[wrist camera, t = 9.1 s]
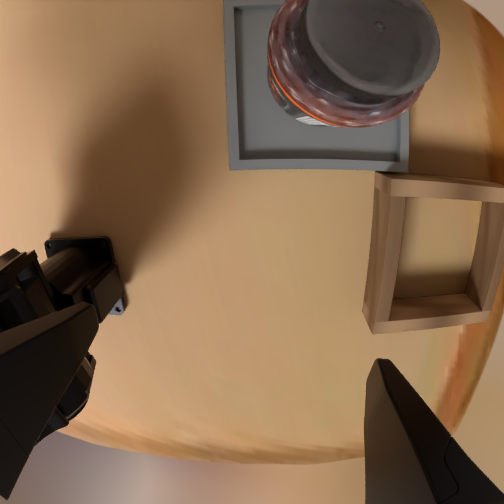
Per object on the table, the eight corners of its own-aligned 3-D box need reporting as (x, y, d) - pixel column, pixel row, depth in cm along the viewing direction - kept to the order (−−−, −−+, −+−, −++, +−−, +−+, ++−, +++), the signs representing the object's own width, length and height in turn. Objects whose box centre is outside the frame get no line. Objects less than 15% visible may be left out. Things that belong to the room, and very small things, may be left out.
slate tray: (232, 167, 20) (229, 170, 18) (226, 7, 16) (223, -1, 14) (399, 169, 19) (408, 172, 18) (392, 15, 15) (400, 8, 14)
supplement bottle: (261, 38, 16) (253, -59, 5) (358, 35, 15) (445, -40, 5) (272, 130, 18) (281, 133, 8) (369, 126, 18) (478, 133, 7)
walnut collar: (362, 311, 23) (372, 334, 20) (375, 171, 19) (391, 178, 17) (470, 302, 23) (487, 320, 20) (493, 181, 19) (516, 190, 16)
